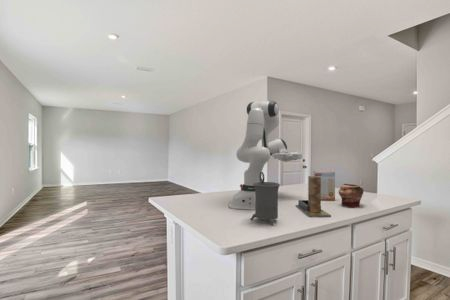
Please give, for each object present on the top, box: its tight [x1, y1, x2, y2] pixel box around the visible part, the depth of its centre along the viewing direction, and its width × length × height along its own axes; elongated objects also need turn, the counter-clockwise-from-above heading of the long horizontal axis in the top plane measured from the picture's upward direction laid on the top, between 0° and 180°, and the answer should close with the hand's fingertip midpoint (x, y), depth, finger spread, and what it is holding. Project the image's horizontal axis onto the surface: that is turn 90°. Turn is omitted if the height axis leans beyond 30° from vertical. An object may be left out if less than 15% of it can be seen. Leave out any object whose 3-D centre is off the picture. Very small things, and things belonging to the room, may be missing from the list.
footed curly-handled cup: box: [250, 171, 281, 227], centre depth 129 cm, size 19×15×25 cm
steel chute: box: [295, 199, 332, 218], centre depth 148 cm, size 12×25×4 cm, turn 1°
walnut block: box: [307, 175, 322, 212], centre depth 144 cm, size 5×6×20 cm
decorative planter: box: [338, 183, 364, 208], centre depth 163 cm, size 20×12×14 cm, turn 116°
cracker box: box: [312, 170, 336, 202], centre depth 181 cm, size 14×6×21 cm, turn 84°
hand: (290, 156), depth 173 cm, fingers closed
